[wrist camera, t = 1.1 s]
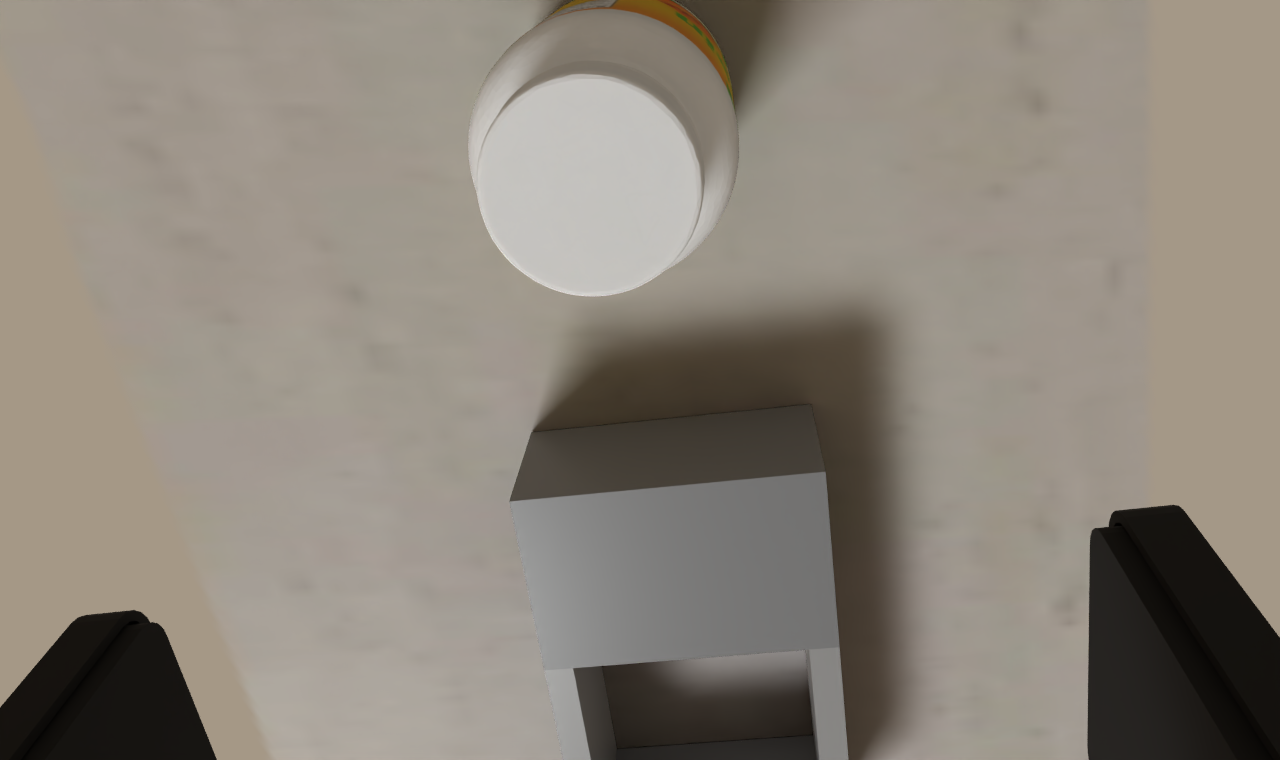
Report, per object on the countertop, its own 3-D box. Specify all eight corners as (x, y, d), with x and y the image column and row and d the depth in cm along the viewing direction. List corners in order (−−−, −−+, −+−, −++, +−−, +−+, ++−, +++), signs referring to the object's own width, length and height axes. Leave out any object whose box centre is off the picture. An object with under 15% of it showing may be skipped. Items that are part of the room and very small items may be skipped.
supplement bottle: (764, 153, 28) (793, 269, 19) (574, 233, 30) (519, 378, 21) (681, -54, 27) (671, -30, 18) (482, 41, 28) (378, 107, 19)
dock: (531, 432, 32) (509, 501, 28) (811, 404, 31) (825, 471, 27) (603, 804, 37) (592, 902, 34) (842, 788, 36) (858, 887, 33)
